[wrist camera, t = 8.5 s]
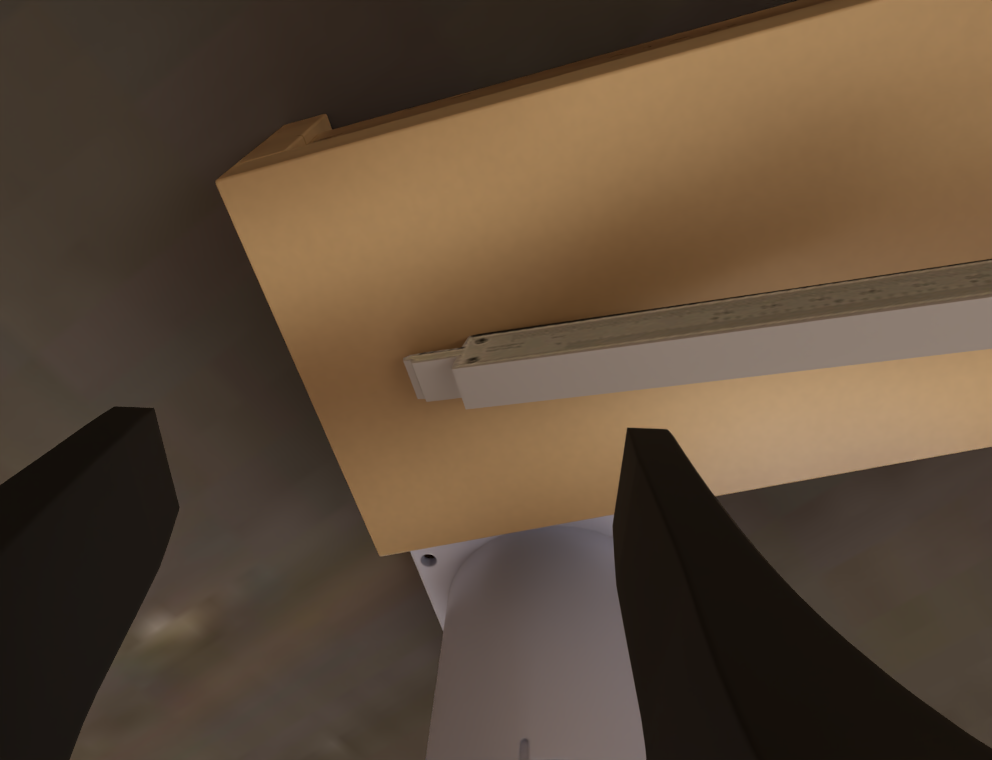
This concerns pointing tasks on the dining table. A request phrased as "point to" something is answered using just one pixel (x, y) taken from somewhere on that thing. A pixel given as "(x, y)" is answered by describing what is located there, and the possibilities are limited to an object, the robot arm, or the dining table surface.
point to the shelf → (630, 255)
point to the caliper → (719, 339)
